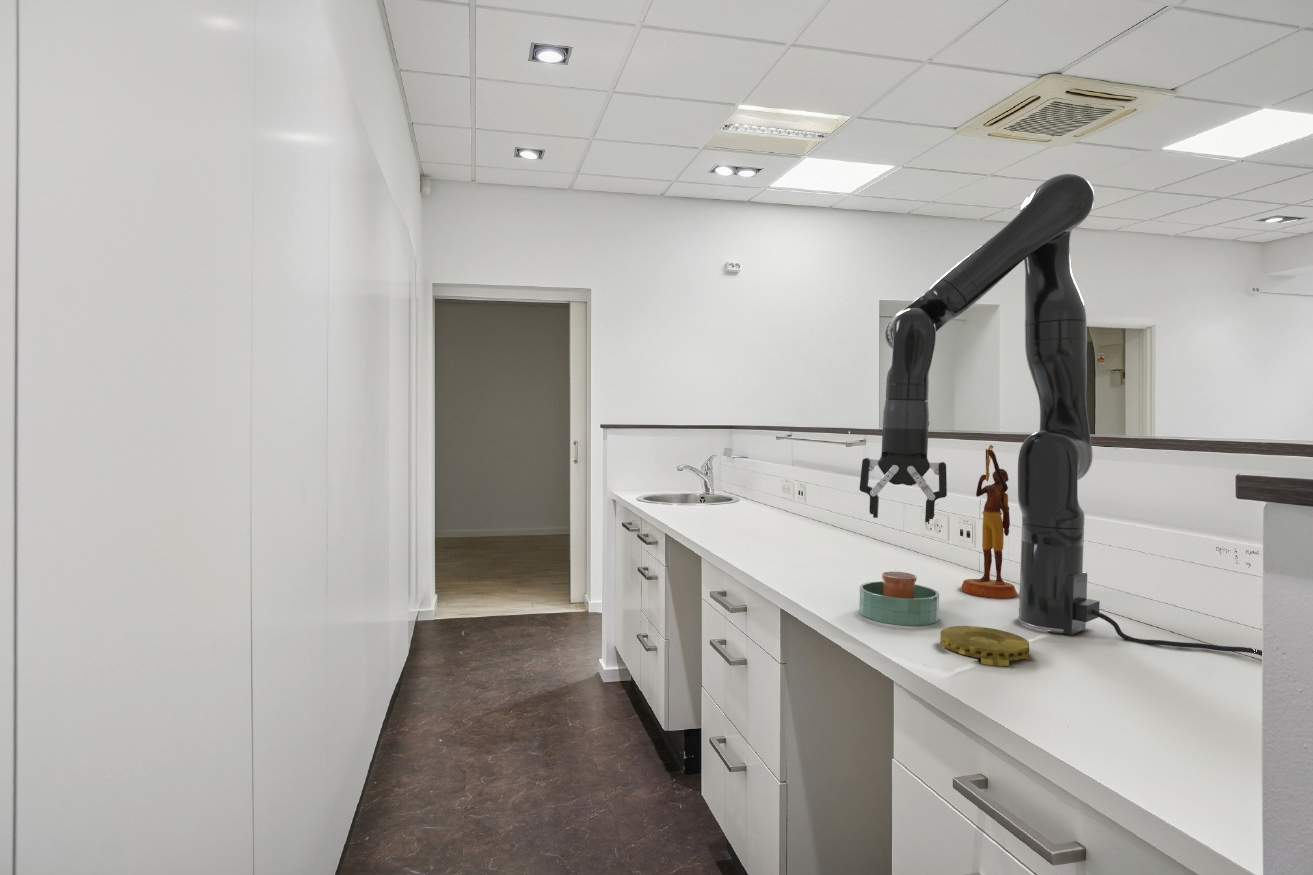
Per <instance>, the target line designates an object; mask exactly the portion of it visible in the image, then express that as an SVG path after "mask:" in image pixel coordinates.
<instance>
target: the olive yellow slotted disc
mask: <svg viewBox="0 0 1313 875" xmlns="http://www.w3.org/2000/svg"><path fill="white" fill-rule="evenodd" d="M939 638H940V643H939V644H940V646H941V647H942V648H943V649H945V650H949V651H952V652H953V653H957V654H960V655H963V656H968V657H972V658H976V659H977V658H978V659H980V665H987V666H998V667H999V666H1000V667H1009V666H1010V661H1019V660H1022V659H1023V660H1027V661H1029V659H1030V641H1028V640H1027V639H1026V638H1024V637H1022V636H1020V635H1018V634H1015V633H1012V632H1009V631H1006V630H1001V629H996V628H990V627H984V626H974V625H954V626H949V627H945V628H942V629H941V630H940V637H939Z"/></svg>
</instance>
